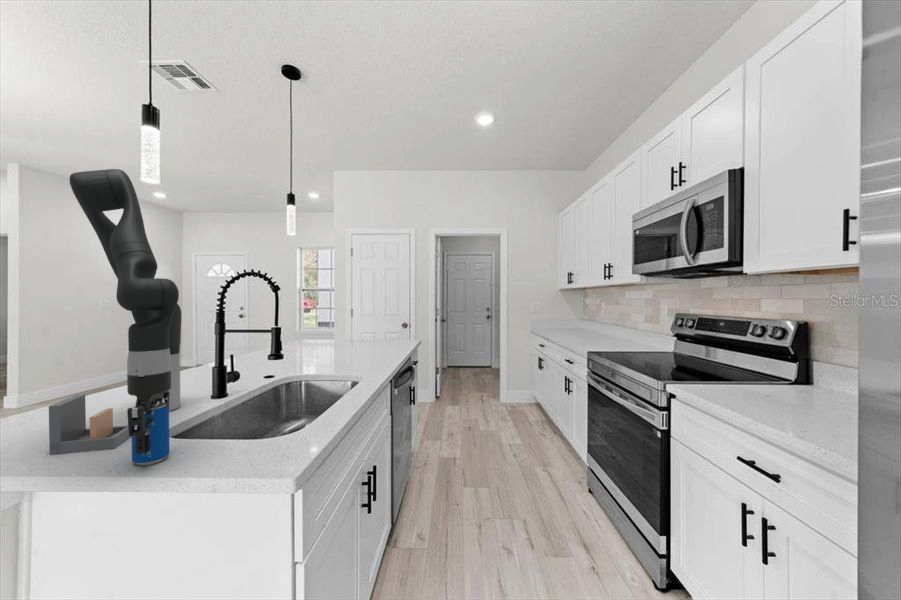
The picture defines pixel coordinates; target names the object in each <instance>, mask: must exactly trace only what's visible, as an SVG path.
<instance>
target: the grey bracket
mask: <svg viewBox="0 0 901 600" xmlns="http://www.w3.org/2000/svg"><path fill="white" fill-rule="evenodd" d="M86 413H87V412H86V395H85V394H77V395H76V394H75V395H73V396H71V397H67V398H66V399H63V400H61V401H58V402H56V403H53V404H51V405H48V436H49V437H48V438H49V439H48V440H49V444H48V445H49V455H50V454H53V455H57V454H56V453H64V454H70V453H69V452H74V453H82V452H81V451H85V452H92V451H91V450H96V451H105V450H104V449H107V450H114V449H116V448H118V447H119V446H120V445H122V444H123V443H124V442H125V441H127V440H129V439H130V438H132V436H129V429H128V424H127V425H117V426H116V425H115V426H114V425H113V433H112V434H110V435H109V436H107V437H105V438H98V439H90V427H89V428H88V427H87V423H86V419H87V417H86V415H87V414H86ZM86 427H87V428H86Z"/></svg>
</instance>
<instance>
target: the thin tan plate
mask: <svg viewBox="0 0 901 600" xmlns="http://www.w3.org/2000/svg"><path fill="white" fill-rule="evenodd" d="M113 411H114V410H113V407H111V408H109V407H108V408H105V409H103V410H101V411H99V412H98V413H95V414H93V415H92V416H90V417H89V428H90V439H98V438H105V437H107V436H109V435H110V434H112V433H113V427H114V416H113V415H114V412H113Z"/></svg>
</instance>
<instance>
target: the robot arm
mask: <svg viewBox="0 0 901 600" xmlns="http://www.w3.org/2000/svg"><path fill="white" fill-rule="evenodd" d="M69 186H70V188H71V190H72V193H73V195H74V197H75V199H76V200H77V202H78V204H79V206H80V207H81V210H82V211H83V213H84V215H85V216H86V218H87V220H88V221H89V224H91V227H92V228H93V230H94V232H95V234H96V236H97V237H98V240H99V242H100V244H101V247H102V249H103V251H104V254H105V256H106V259H107V262H108V263H109V266H110V268H111V269H112V271H113V273H114V275H115V277H116V278H117V286H116V301H117V304H118V305H119V306H120V308H121V307H122V308H123V309H124V310H125V311H128V312H129V311H130V312H131V315H132V317H133V321H134V322H135V323H132V324H130V326H129V327H128V333H127V334H128V335H127V336H128V353H127V361H126V364H127V365H126V367H127V368H126V370H127V371H126V372H127V373H126V374H127V375H126V376H127V379H126V381H127V382H126V383H127V384H126V386H127V394H128V395H130V396H134V397H136V401H135V405H134V407H128V408H127V412H126V413H127V425H128V429H129V436H131V437H132V436H136V453H137V454H142V453H147V452H149V451H150V434H149V433H150V429H151V424H152V423H153V422H154V412H155V409H156V408H158V407H159V405H163V404H164V403H166V406H167V407H168V408H169V412H171V411H174V410H177V409H180V408H181V359H180V357H181V354H180V353H181V352H180V351H181V342H182V341H181V336H182V335H181V334H182V309H181V306H180V305H179V303H178V301H179V298H180V294H179V293H180V291H179V288H178V286H177V284H176V283H175V282H174V281H173V280H171V279H169V278H159V277H158V278H156V274H157V271H158V263H157V259H156V257H155V255H154V253H153V249H152V248H151V245H150V243H149V239H148V236H147V233H146V228H145V223H144V217H143V214H142V211H141V206H140V202H139V199H138V194H137V191H136V189H135V187H134V185H133V181H132V179H131V178H130V176H129V174H127V173H126V171H124V170H122V169H120V168H119V169H118V168H110V169H108V168H107V169H97V170H96V169H95V170H85V171H77V172H73V173H71V174H70V175H69ZM117 210H122V215H121V216H120V219H119V221H118V223H117V225H116V224H115V222H113V221H111V219H110V218H109V217H108V216H107V215H106V214H105V213H104V212H109V211H117ZM153 408H154V409H153ZM151 409H153V410H152V411H151ZM150 412H151V416H150V418H149V419H146V420H145V414H149V413H150ZM145 424H146V426H145ZM134 425H135V428H134ZM139 425H140V429H139Z"/></svg>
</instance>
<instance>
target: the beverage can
mask: <svg viewBox="0 0 901 600" xmlns="http://www.w3.org/2000/svg"><path fill="white" fill-rule="evenodd" d="M153 409H154V408H153ZM153 409H151V411H152V410H153ZM150 416H151V412H150V413H149V414H145V420H146V419H149V418H150ZM145 426H146V424H145ZM134 428H135V425H134ZM139 429H140V425H139ZM149 434H150V451H149V452H147V453H142V454H137V453H136V436H131V463H134V464H136V465H137V466H150V465H154V464H156V463H160V462H162V461H163V460H165V459H166V457H168V456H169V455H170V411H169V408H168V407H167V406H166V403H164V404H163V405H159V407H158V408H156V409H155V412H154V422H153V423H152V424H151V429H150V433H149Z"/></svg>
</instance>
